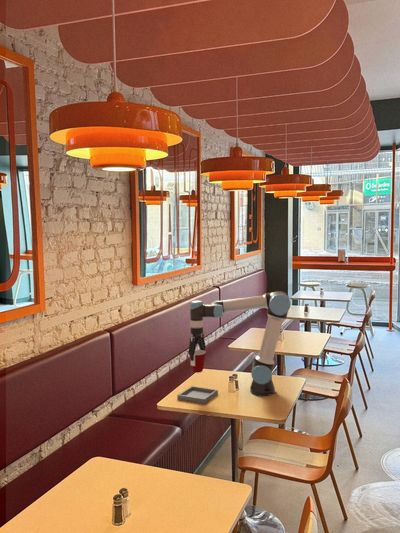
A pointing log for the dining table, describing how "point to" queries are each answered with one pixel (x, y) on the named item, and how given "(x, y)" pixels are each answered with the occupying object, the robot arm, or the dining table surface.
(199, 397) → the tray
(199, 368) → the plastic cup
